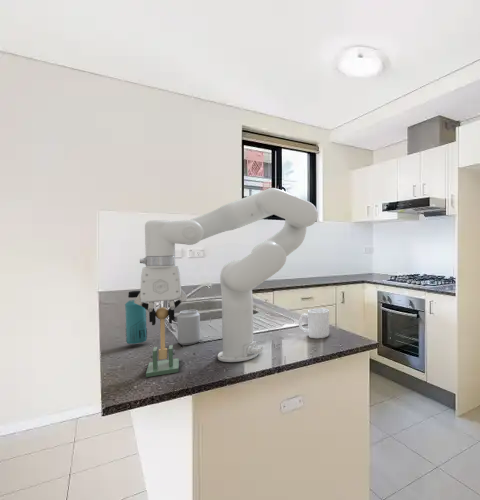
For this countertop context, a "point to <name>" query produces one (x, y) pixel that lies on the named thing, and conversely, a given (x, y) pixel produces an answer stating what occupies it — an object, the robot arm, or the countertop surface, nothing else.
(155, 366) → the spoon stand
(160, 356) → the spoon
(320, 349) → the countertop surface
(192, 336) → the can
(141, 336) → the beverage bottle
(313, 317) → the cup
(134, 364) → the countertop surface
